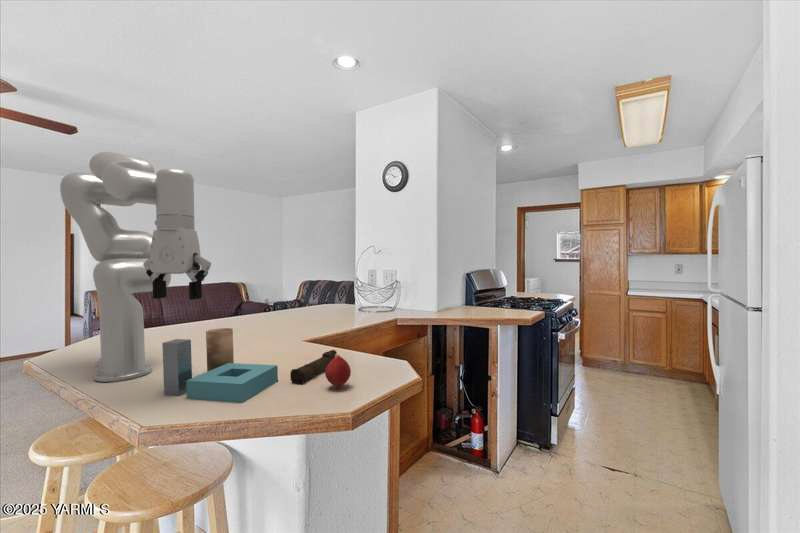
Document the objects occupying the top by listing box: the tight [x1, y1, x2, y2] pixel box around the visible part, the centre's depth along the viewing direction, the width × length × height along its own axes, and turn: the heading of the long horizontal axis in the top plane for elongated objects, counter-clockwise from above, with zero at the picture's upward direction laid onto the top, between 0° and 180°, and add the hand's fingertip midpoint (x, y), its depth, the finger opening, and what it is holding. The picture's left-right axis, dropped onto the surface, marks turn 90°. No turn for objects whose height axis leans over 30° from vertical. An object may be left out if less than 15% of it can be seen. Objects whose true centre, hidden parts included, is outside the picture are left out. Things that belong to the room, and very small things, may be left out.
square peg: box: [161, 338, 193, 397], centre depth 86 cm, size 4×4×12 cm
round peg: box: [205, 327, 235, 372], centre depth 98 cm, size 6×6×12 cm
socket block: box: [186, 362, 279, 403], centre depth 87 cm, size 14×14×4 cm
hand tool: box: [290, 349, 338, 385], centre depth 99 cm, size 19×4×5 cm, turn 156°
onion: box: [324, 353, 352, 389], centre depth 87 cm, size 6×6×8 cm
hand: (177, 298), depth 86 cm, fingers open, 9 cm apart
